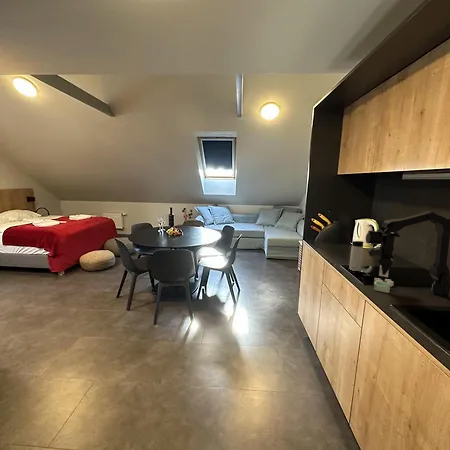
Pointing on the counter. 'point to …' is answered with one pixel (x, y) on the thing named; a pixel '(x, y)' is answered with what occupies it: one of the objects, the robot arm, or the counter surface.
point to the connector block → (381, 272)
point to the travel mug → (356, 255)
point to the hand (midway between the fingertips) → (383, 273)
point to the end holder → (382, 286)
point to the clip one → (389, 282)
